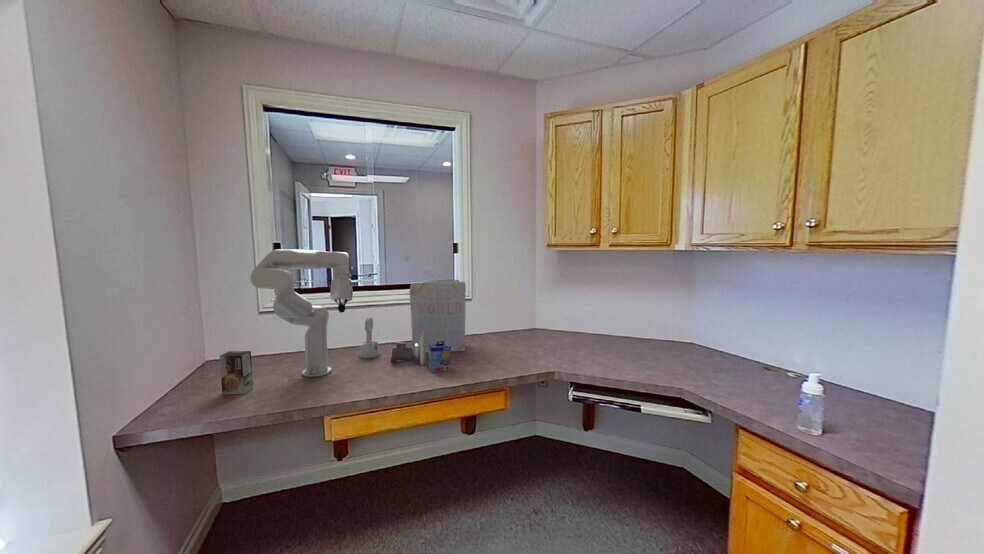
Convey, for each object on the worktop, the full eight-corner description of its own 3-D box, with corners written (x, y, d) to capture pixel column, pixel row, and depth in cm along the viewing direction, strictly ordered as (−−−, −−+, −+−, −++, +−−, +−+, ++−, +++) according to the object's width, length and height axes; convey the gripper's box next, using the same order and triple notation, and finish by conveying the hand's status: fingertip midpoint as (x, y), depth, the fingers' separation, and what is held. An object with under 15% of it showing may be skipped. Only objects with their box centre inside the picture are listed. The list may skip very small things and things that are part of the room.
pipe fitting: (389, 363, 193) (391, 343, 193) (389, 360, 201) (391, 340, 201) (413, 364, 196) (415, 344, 196) (413, 361, 204) (415, 342, 204)
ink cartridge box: (430, 372, 182) (430, 342, 180) (428, 369, 187) (428, 339, 185) (451, 370, 185) (451, 341, 184) (448, 367, 190) (448, 338, 189)
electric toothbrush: (356, 357, 204) (375, 358, 204) (355, 319, 202) (374, 319, 202) (363, 351, 215) (381, 352, 214) (362, 315, 213) (380, 315, 212)
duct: (423, 364, 193) (423, 337, 192) (413, 365, 193) (412, 337, 191) (425, 356, 207) (425, 330, 206) (416, 356, 206) (415, 331, 205)
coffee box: (253, 388, 161) (251, 350, 159) (244, 394, 155) (242, 355, 153) (231, 388, 161) (229, 350, 159) (221, 394, 154) (218, 355, 153)
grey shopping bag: (410, 347, 229) (409, 279, 226) (463, 344, 235) (462, 278, 233) (410, 354, 212) (408, 281, 210) (466, 350, 218) (465, 280, 216)
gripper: (358, 276, 200) (358, 310, 202) (329, 275, 200) (330, 310, 202) (353, 277, 193) (353, 313, 194) (323, 276, 193) (324, 313, 194)
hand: (341, 311), depth 198 cm, fingers closed
